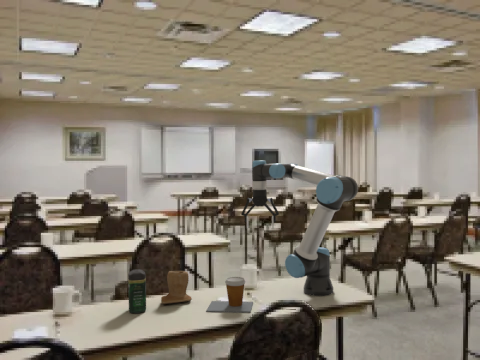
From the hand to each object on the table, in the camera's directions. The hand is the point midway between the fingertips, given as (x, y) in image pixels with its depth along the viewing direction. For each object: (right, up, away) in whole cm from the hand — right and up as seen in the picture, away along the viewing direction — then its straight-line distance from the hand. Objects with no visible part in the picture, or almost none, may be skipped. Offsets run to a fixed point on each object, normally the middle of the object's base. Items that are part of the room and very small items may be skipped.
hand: (260, 228), depth 233 cm
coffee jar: (-58, -34, -34) cm, 75 cm away
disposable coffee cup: (-13, -32, -30) cm, 46 cm away
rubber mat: (-15, -33, -32) cm, 49 cm away
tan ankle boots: (-42, -33, -22) cm, 58 cm away
